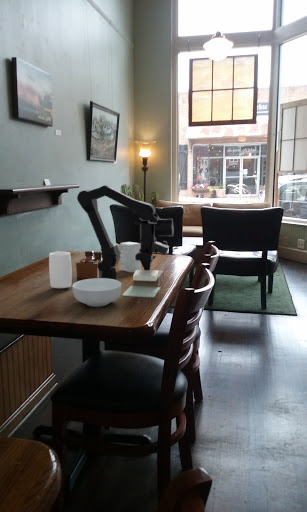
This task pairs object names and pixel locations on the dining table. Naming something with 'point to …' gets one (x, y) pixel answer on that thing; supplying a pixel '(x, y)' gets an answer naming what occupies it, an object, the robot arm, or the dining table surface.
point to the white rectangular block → (146, 275)
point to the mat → (141, 291)
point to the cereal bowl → (97, 291)
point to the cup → (60, 269)
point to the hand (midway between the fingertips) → (147, 274)
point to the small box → (129, 256)
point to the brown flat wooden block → (151, 283)
